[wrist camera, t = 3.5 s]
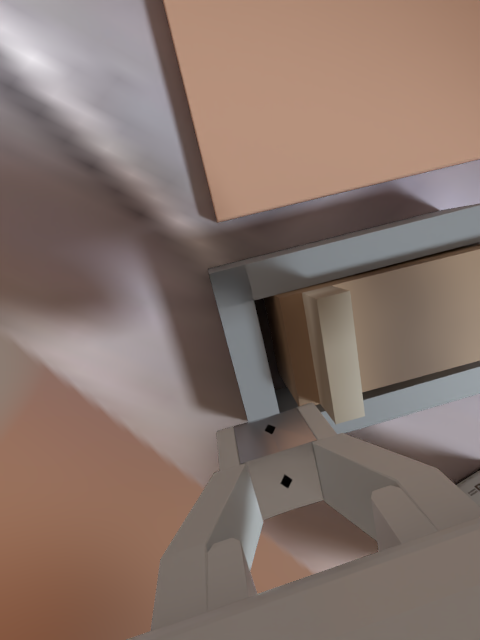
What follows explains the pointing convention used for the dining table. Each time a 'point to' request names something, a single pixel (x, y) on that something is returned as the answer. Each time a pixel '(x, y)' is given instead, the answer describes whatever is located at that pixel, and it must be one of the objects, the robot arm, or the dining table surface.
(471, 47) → the rubber pad
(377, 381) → the walnut block
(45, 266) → the dining table surface
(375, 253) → the frame
